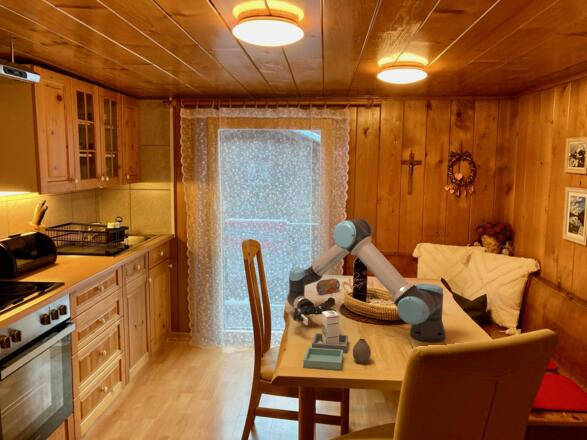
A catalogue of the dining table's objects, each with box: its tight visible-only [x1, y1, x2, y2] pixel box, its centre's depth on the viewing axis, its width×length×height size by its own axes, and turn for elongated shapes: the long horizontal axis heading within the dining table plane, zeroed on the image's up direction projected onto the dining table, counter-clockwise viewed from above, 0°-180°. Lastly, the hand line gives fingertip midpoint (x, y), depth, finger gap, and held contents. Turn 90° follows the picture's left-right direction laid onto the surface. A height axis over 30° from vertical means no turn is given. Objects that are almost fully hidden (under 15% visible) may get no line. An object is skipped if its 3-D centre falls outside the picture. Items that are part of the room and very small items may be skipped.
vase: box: [352, 338, 372, 364], centre depth 185 cm, size 7×7×9 cm
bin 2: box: [302, 347, 344, 371], centre depth 184 cm, size 14×12×3 cm
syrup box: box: [321, 311, 340, 345], centre depth 199 cm, size 6×6×14 cm
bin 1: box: [311, 332, 349, 354], centre depth 200 cm, size 14×12×3 cm
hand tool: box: [319, 297, 336, 308], centre depth 249 cm, size 19×4×5 cm, turn 154°
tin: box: [315, 277, 341, 296], centre depth 277 cm, size 15×3×8 cm, turn 119°
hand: (321, 320), depth 207 cm, fingers open, 13 cm apart
